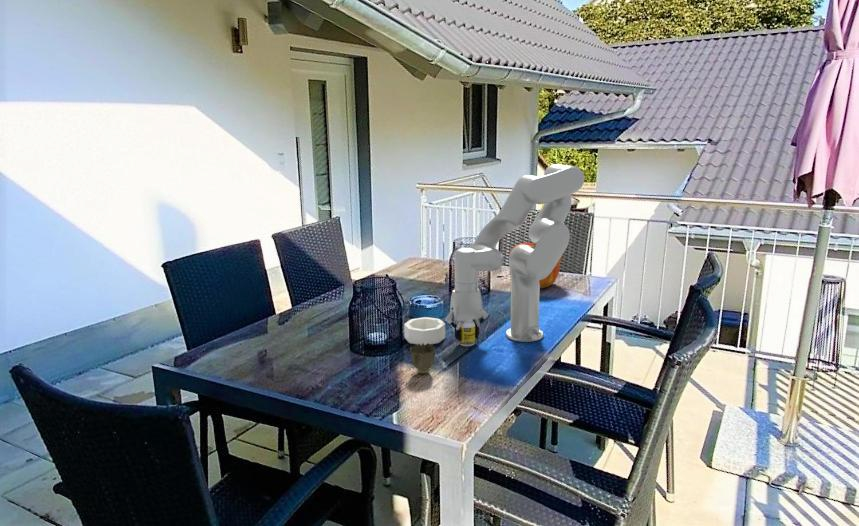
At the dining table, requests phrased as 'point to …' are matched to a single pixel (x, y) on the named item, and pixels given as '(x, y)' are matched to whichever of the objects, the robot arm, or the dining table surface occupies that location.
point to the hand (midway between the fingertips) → (466, 338)
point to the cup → (422, 357)
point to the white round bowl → (424, 330)
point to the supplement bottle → (467, 333)
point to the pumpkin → (551, 276)
